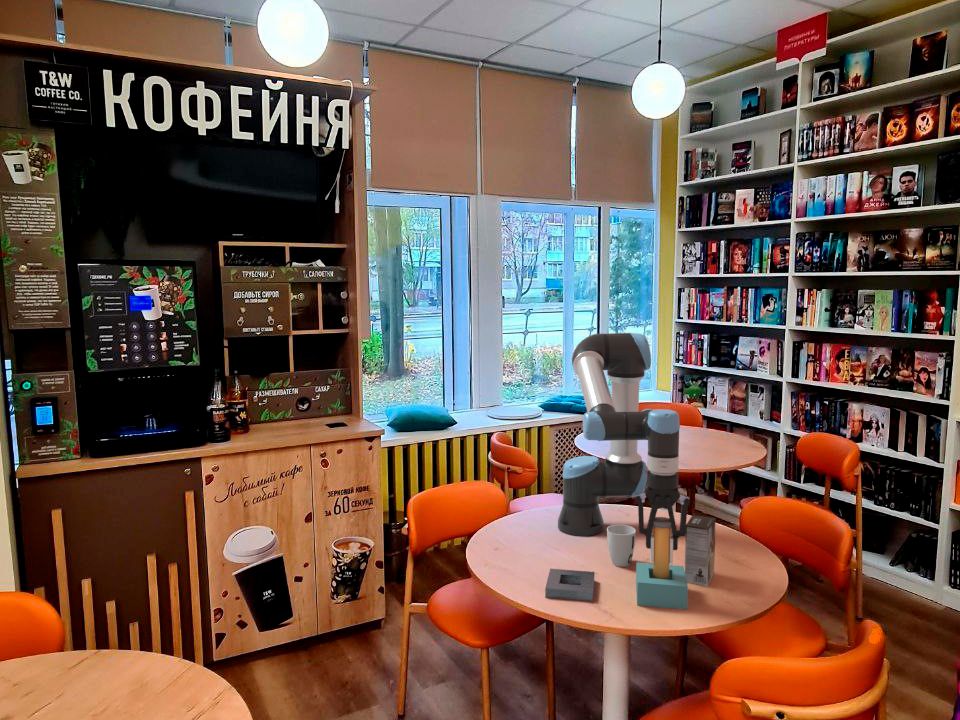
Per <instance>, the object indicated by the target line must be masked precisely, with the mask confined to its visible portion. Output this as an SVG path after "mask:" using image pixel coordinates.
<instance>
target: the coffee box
mask: <svg viewBox="0 0 960 720" xmlns="http://www.w3.org/2000/svg"><path fill="white" fill-rule="evenodd" d="M716 521H717V520H716V517H709V516H702V515H694V514H693V515H691V517H690V518H689V519H688V521H687V522H686V535H685V538H684V539H685V546H684V547H685V548H684V552H685V553H684V554H685V555H684V572H685V576H686V581H687V584H688V583H689V584H693V585H694V584H695V585H698V586H705V587H709V585H710V583H711V581H712V579H713V577H714V575H715V555H716V554H715V553H716Z"/></svg>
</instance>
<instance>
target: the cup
mask: <svg viewBox="0 0 960 720" xmlns="http://www.w3.org/2000/svg"><path fill="white" fill-rule="evenodd" d="M636 532H637V531H636V528H634V527H633V526H631V525H627V524H613V525H609V526H608V527H606V539H607V540H606V541H607V546H608V547H607V548H608V553H609V557H610V560H611V561H610V562H612V565H614V566H616V567H621V568H624V567H629V566H630V565H631V562H632V559H633V555H634V550H635V545H636V535H637V534H636Z"/></svg>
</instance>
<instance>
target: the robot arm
mask: <svg viewBox="0 0 960 720" xmlns="http://www.w3.org/2000/svg"><path fill="white" fill-rule="evenodd" d="M571 364H572V369H573V372H574V373H575V374H576V375H577V377H578V379H579V383H580V388H581V392H582V395H583V396H582V397H583V399H584V400H583V401H584V405H585V407H586V412H585V413H584V414H583V415H582V433H583V437H584V438H585V440H587V441H598V442H602V441H604V442H605V441H610V445H609V446H610V449H609V451H608V453H607V452H606V454H605V460H604V461H600V459H599V458H598V457H597V456H594V455H591V456H590V455H581V456H577V457H575V456H574V457H572V458H570V459H567V460H566V461H565V463H564V464H563V467H562V468H563V469H562V478H563V479H562V481H563V482H562V483H563V484H562V487H563V489H562V501H563V502H562V507H561V510H560V513H559V515H558V519H557V528H558V530H560V531H561V532H563V533H565V534H567V535H572V536H577V537H579V536H581V537H589V536H596V535H598V534H600V533H602V532H603V531H604V530H605V522H604V518H603V515H602V511H601V509H600V506H599V504H600V503H599V502H600V501H599V499H600V498H628V499H630V498H635V501H636V503H637V509H638V510H637V512H638V534H640V535H644V536H645V547H646V549H649V557H650V558H649V559H650V563H651V564H653V563H654V533H653V531H654V526H653V525H654V521H655V517H657V512H658V510H659V509H664V510H667V513H668V518H669V519H670V522H671V527H670V530H671V533H672V534H670V560H669V563H670V564H669V565H674V551H677V550H678V547H679V546H678V544H679V542H678V541H679V538H681V537H686V524H687V518H688V517H687V516H688V507H689V506H690V503H691V499H690V497H689V496H688V495H686V496H685V495H684V494H683V495H682V494H681V493H680V491H679V474H678V472H679V463H680V461H679V455H680V454H679V453H680V450H679V449H680V446H679V445H680V428H681V424H680V414H679V413H678V412H677V411H675V410H671V409H667V408H666V409H665V408H664V409H663V408H662V409H661V408H659V409H658V408H656V409H653V408H645V409H643V410H641V411H639V410H640V409H639V407H640V406H639V405H640V404H639V403H640V401H639V400H640V381H641V380H642V379H644V378H645V371H648V370H650V368H651V367H652V366H651V365H652V355H651V348H650V344H649V341H648V339H647V337H646V336H645V335H644V334H642V333H638V332H637V333H636V332H618V333H617V332H616V333H614V332H612V333H611V332H610V333H594V334H591V335H589V336H587V337H584V339H582V340H581V341H580V342H579V343H578V344H577V346H576V347H575V349H574V350H573V353H572V356H571ZM604 371H607V372H606V374H607V377H608V378H609V379H610V380H611V391H610V388H609V385H608V381H607V378H606V375H605V372H604ZM639 441H647V463H646V462H645V461H643V460H642V455H640V454H639V453H638V442H639ZM646 498H647V500H648V501H649V503H650V504H651V508H650V512H649V516H648V521H647V523H646V524H647V525H646V528H645V525H644V524H645V523H644V521H645V519H644V503H645V501H646ZM678 500H679V504H680V505H681V506H680V519H679V520H680V521H679V522H680V523H679V529H678V528H677V525H676V519H675V515H674V509H673V506H674V505H675V504H676V503H677V502H678ZM677 529H678V530H677Z"/></svg>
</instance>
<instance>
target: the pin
mask: <svg viewBox="0 0 960 720" xmlns="http://www.w3.org/2000/svg"><path fill="white" fill-rule="evenodd" d="M653 534H654V563H652V564H653V578H654V579H667V580H669V565H671V564H670V563H669V560H670V535H671V522H670V519H669V517H665V516H656V517H655V521H654V525H653Z"/></svg>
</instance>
